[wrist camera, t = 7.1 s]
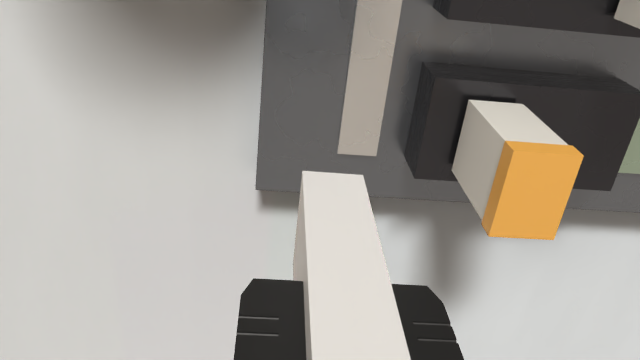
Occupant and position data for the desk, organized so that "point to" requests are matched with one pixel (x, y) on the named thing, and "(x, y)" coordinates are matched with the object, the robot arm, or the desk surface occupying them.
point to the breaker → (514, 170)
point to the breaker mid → (629, 12)
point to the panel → (421, 36)
